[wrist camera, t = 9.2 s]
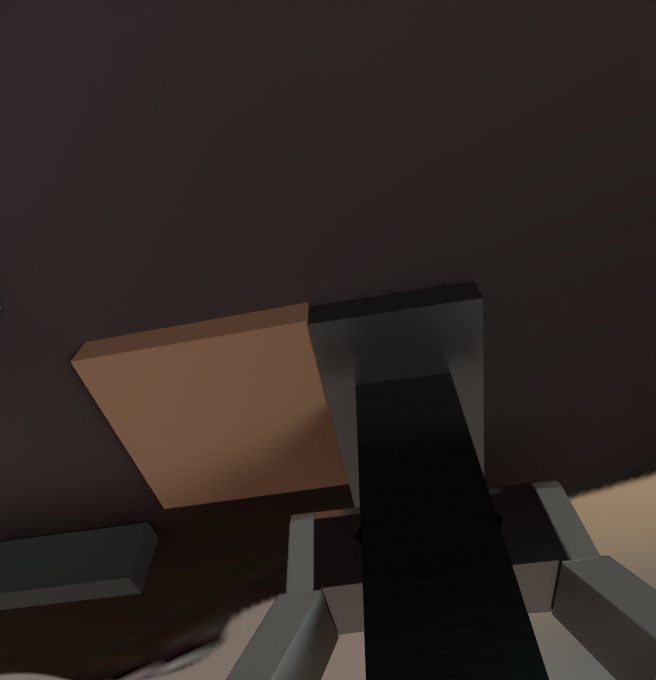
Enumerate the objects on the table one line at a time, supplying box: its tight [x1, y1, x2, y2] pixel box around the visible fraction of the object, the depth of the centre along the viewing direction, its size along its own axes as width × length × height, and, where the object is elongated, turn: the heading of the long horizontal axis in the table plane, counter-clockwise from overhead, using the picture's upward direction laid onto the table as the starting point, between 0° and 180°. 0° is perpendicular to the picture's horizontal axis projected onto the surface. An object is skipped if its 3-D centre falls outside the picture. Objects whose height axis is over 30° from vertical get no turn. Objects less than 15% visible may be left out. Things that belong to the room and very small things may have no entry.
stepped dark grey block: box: [308, 282, 549, 680], centre depth 10 cm, size 4×7×8 cm, turn 11°
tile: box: [71, 302, 349, 509], centre depth 13 cm, size 6×6×1 cm
